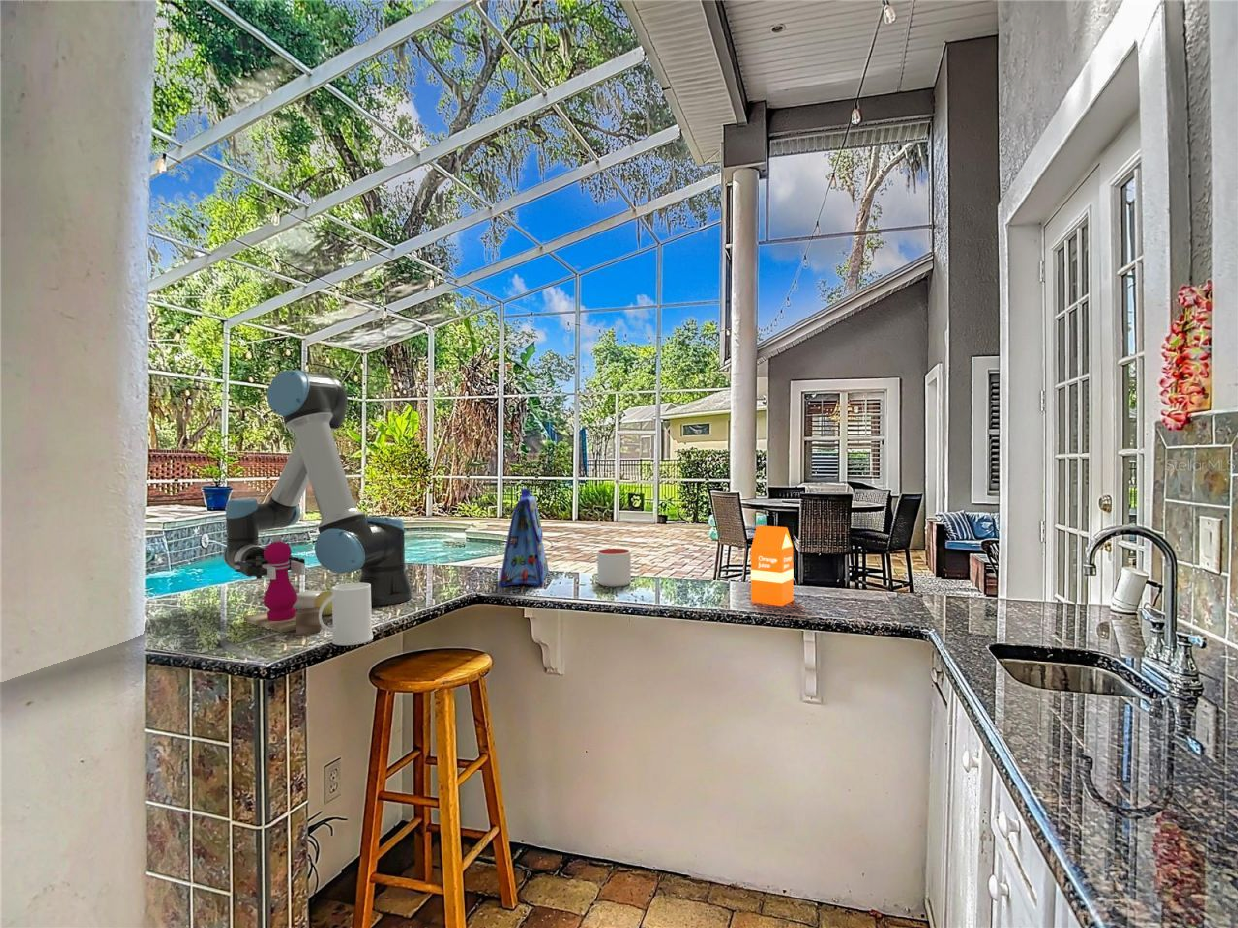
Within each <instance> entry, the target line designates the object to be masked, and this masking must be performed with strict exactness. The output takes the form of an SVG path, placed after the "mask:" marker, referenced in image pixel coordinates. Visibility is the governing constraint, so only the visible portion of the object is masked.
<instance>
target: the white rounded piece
mask: <svg viewBox="0 0 1238 928" xmlns="http://www.w3.org/2000/svg"><path fill="white" fill-rule="evenodd" d="M322 592H325V591H324V590H305V591H300V592H296V594H297V601H296V603H295V604H294V605H293V607H294V608H295V609H302V608H313V607H314V601H315V599H316V597H317V596H318V595H319V594H320V593H322Z"/></svg>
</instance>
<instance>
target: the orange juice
mask: <svg viewBox="0 0 1238 928" xmlns="http://www.w3.org/2000/svg"><path fill="white" fill-rule="evenodd" d="M794 570H795V569H794V544H793V541H792V539H791V535H790V531H789V529H788V527H787V526H776V525H775V526H774V525H773V526H772V525H762V524H761V525H759V524H758V525H757V526H756V529H755V533H754V536H753V539H752V544H751V547H750V592H751V593H750V595H751V596H750V599H751V600H750V601H751V603H757V604H764V605H772V606H778V607H783V606H785V605H788V604H790V603H791V602H793V601H794V600H795V599H794V596H795V595H794V588H795V587H794V583H795V582H794V578H795V577H794V576H795V575H794V573H795V572H794Z"/></svg>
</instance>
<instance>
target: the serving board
mask: <svg viewBox="0 0 1238 928" xmlns="http://www.w3.org/2000/svg"><path fill="white" fill-rule="evenodd" d="M267 612H268V611H266V612H262V613H261V612H260V613H256V614H252V615H246V616H243V618H242V619H243V621H246V622H249V623H252V624H255V625H258V626H257V627H259V626H261V627H260V628H262V627H265V628H268V629H267V630H269V629H271V630H270V631H272V630H274V631H273V632H275V631H277V632H276V633H278V632H280V633H279V634H284V633H287V632H292V631H296V617H293V618H290V619H286V620H279V621H270V620H268V619H267ZM246 622H245V623H246ZM249 623H248V624H249ZM252 624H251V625H252ZM255 625H254V626H255ZM265 628H264V629H265ZM283 632H284V633H283Z"/></svg>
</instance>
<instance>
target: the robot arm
mask: <svg viewBox="0 0 1238 928" xmlns="http://www.w3.org/2000/svg"><path fill="white" fill-rule="evenodd" d="M266 400H267V401H266V402H267V404H268V407H269V409H270V410H271V411H272V412H274V413H275V414H276V415H278V416H281V417H282V419H283V422H284V425H285V428H286V429H289V430H291V432H293V433H294V436H295V438H296V442H295V444H294V446H293V448H292V451H291V452H290V454H289V457H288V459H287V461H286V463H285V466H284V467H283V469H282V472H281V474H280V475H279V477H278V480H277V482H276V484H275V486H274V488H273V491H272V493H271V495H269V499H268V500H267V502H265V503H259V502H258V500H257V499H256V498H252V497H251V498H248V497H246V498H245V497H244V498H233V499H229V500H227V501H226V507H225V518H226V519H225V522H226V546H225V548H224V550H223V554H222V558H223V561H224V563H225V564H226V565H227V566H228V567H229V568H231V569H232V570H235V572H236V573H240V574H242V575H244V576H246V577H250V578H251V577H256V580H258V579H259V580H260V579H263V577H265V578H267V579H269V580H270V579H276V573H275V567H272V566H269V565H267V564H268V563H269V562H268V561H267V560H266V559H265V557H264V550H265V548H266V547H263V546H260V544H259V543H260V542H259V532H262V531H268V530H273V529H283V528H287V527H289V526H293V525H295V524H297V523H298V521H300V520H299V519H300V518H301V509H300V507H299V505H298V504H299V502H300V501H301V498H302V496H303V494H304V492H305V491H306V489H307V487H308V485H309V483H310V485H311V489H312V493H313V496H314V498H315V499H314V500H315V501H316V505H317V508H318V510H319V515H320V517H321V521H320V523H319V524H318V526H317V529H318V532H319V535H318V536H317V538H316V543H315V544H314V553H315V557H316V558H317V561H318V562H319V564H320V565H321V566H322V567H323V568H324V569H326V570H327V571H328V572H331V573H333V574H339V575H340V574H342V575H343V574H350V573H354V572H357V571H359V570H360V575H359V579H358V582H360V583H369V584H371V607H373V606H374V607H375V606H388V605H389V606H390V605H394V604H395V605H396V604H400V603H404V602H405V603H406V601H409V600H411V599H413V588H412V586H411V583H410V580H409V577H408V574H407V572H406V551H405V547H406V545H405V533H406V531H405V523H404V520H403V519H402V518H400V517H385V516H382V517H380V516H379V517H377V516H366V514H365V512H362V511H361V510H358V509H357V507H356V504H355V501H354V497H353V494H352V492H351V488H350V485H349V482H348V479H347V475H346V473H345V470H344V466H343V463H342V460H341V456H340V454H339V451H338V447H337V444H336V442H335V438H334V435H333V433H334V432H335V431H338V430H339V429H340V428H341V425H342V423H343V422H344V420H345V417H346V414H347V410H348V402H349V398H348V393H347V390H346V388H345V386H344V384H343V383H342V382H341V381H340V380H339V379H338V378H336V377H334V376H332V375H331V374H326V373H317V372H316V373H315V372H310V371H309V372H308V371H303V370H299V369H296V370H295V369H294V370H290V369H288V370H283V371H280V372H279V373H277V374H276V375H275V376H273V377H272V379H271V380H270V384H269V385H268V386H267V390H266ZM288 561H290V563H289V565H290V567H289V568H288V571H291V573H293V574H297V575H300V576H305V575H306V572H305V570H306V564H305V563H306V562H305V561H306V560H305V559H304V558H301V557H297V556H293V555H292V554H291V556H290V558H289V559H288Z"/></svg>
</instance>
